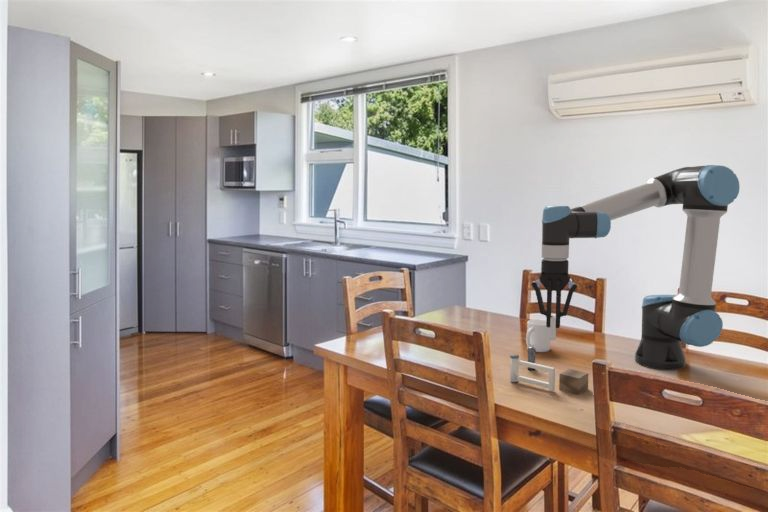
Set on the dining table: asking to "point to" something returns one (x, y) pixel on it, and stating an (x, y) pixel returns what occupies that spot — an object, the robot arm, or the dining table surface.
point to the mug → (538, 335)
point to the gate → (515, 362)
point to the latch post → (531, 356)
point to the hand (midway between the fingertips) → (552, 338)
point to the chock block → (573, 381)
